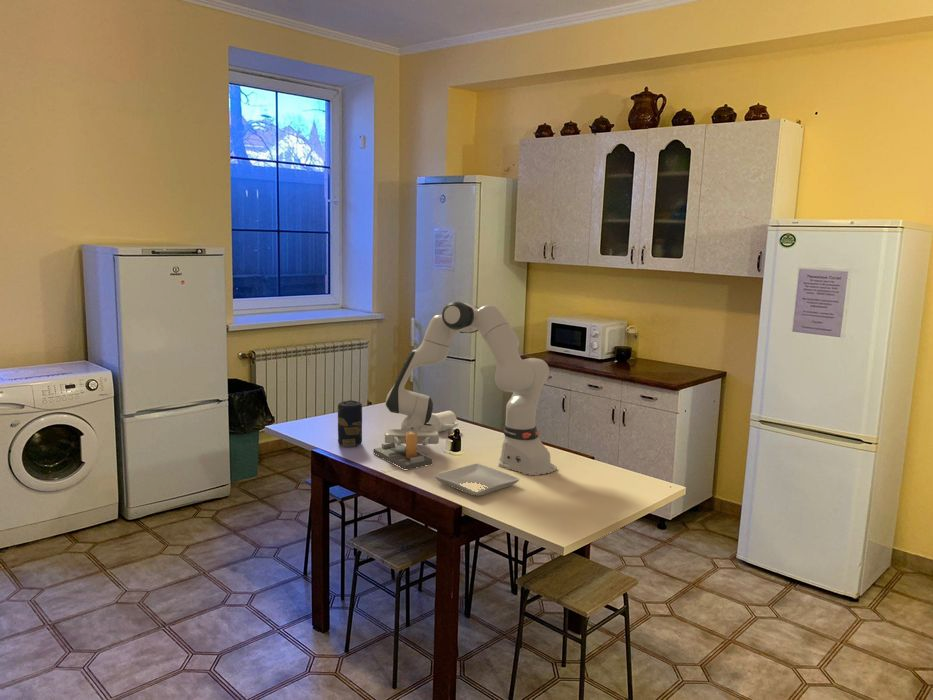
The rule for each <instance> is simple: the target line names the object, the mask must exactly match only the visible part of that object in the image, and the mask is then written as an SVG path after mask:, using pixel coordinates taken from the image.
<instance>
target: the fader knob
mask: <svg viewBox="0 0 933 700" xmlns="http://www.w3.org/2000/svg"><path fill="white" fill-rule="evenodd" d="M405 446H406V458H408V459H410V458H413V457H417V452H418V444H417V433H416V432H407V433H406V444H405Z"/></svg>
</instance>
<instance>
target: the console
mask: <svg viewBox="0 0 933 700" xmlns="http://www.w3.org/2000/svg"><path fill="white" fill-rule="evenodd" d="M374 453H375V454H377V455H379V456H380V457H382V458H384V459H386V460H388V461H390V462H392V463H394V464H396V465H398V466H400V467H401V468H403V469H409V470H411V469H410V468H414V469H417V468H416V467H419V468H422V467H421V466H423V467H426V466H425V465H428V466H432V465H433V458H431V457H428V456H427V455H424V454H422V453H421V452H418V451H417V457H413V458H410V459H408V458H406V445H405V444H404V445H403V444H401V445H397V444H396V443H385V442H384V443H381V446H380V447H377V448H373V454H374ZM375 454H374V455H375ZM377 455H376V456H377ZM380 457H379V458H380ZM382 458H381V459H382ZM384 459H383V460H384ZM386 460H385V461H386ZM388 461H387V462H388ZM390 462H389V463H390ZM392 463H391V464H392ZM431 464H432V465H431ZM401 468H400V469H401ZM403 469H402V470H403Z"/></svg>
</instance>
